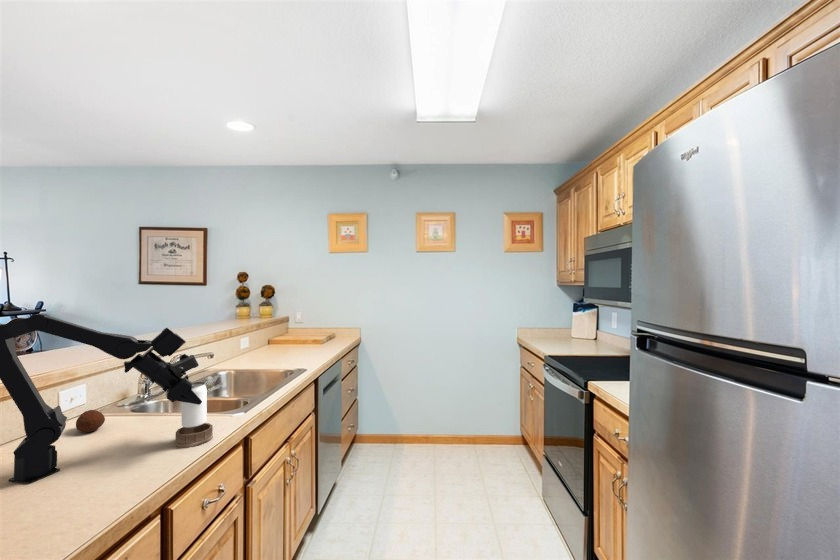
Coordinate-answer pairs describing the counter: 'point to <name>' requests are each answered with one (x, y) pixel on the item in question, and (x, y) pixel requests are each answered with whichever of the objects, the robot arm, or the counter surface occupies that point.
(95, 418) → the potato
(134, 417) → the counter surface
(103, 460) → the counter surface
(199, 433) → the holder
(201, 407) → the can
